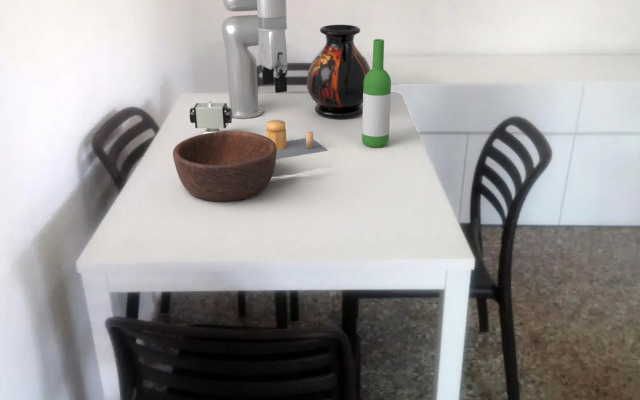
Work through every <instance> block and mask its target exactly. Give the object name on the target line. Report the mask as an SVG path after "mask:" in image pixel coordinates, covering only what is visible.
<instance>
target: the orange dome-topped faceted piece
mask: <svg viewBox="0 0 640 400" xmlns="http://www.w3.org/2000/svg"><path fill="white" fill-rule="evenodd" d="M265 133H266V135H265V137H267V138H269V139H271V140H272V141H273V142H274V143H275V144H276V147H277V150H280V149H284V148H285V147H286V141H287V129H286V121H284V120H279V119H272V120H269V121H267V122H266V130H265Z"/></svg>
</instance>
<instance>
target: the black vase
mask: <svg viewBox="0 0 640 400" xmlns="http://www.w3.org/2000/svg"><path fill="white" fill-rule="evenodd" d="M319 32H320V33H321V34H323V35H325V40H326V43H325V45H324V47H323V48H322V49H321V50H320V51H319V53H318V54H317V55H316V56H315V57H314V59H313V60H312V62H311V64H310V66H309V68H308V73H307V76H306V86H307V87H306V90H307V92H308V94H309V96H310V98H311V99H312V100H313V102H314V103H316V104H315V107H314V111H315V113H316V114H317V115H318V116H321V117H324V118H326V119H327V118H328V119H335V120H338V119H339V120H345V119H346V120H347V119H353V118H356V117H358V116H360V115H363V88H364V78H365V76H366V74H367V73H368V72H369V71H370V70H371V67H370V65H369V62H368V61H367V59H366V57H364V55H363V54H362V52H360V50H359V49H358V48H357V47H356V45H355V43H354V42H355V41H354V38H355V35H358V34H360V33H361V29H360V27H359V26H356V25H351V24H328V25H324V26H321V27H320V29H319Z"/></svg>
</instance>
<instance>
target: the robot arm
mask: <svg viewBox="0 0 640 400" xmlns="http://www.w3.org/2000/svg"><path fill="white" fill-rule="evenodd" d="M222 2H223V6H224V7H225V9H226V10H227V11H230V12H253V11H254V12H255V11H256V12H257V14H246V15H234V16H233V15H232V16H229V17H227V18H225V19H224V20H223V21H222V23H221V33H222V34H221V35H222V38H223V43H224V48H225V57H226V67H227V70H226V71H227V83H228V84H227V85H228V99H229V103H228V104H229V106H228V108H231V109H232V118H234V119H235V118H236V119H250V118H256V117H259V116H261V115H263V113H264V108H263V107H262V106H260V105H259V96H258V95H259V92H258V67H257V59H256V57H255V55H254V54H253V52H251V50H249V47H256V46H258V47H257V48H258V49H257V50H258V63H259V64H260V65H261V78H262V84H263V85H271V84H272V85H273V84H274V92H275V93H276V94H279V93H287V92H288V84H287V83H288V81H287V80H288V79H287V78H288V65H289V64H288V51H287V39H286V38H287V37H286V32H285V31H286V30H287V29H288V25H287V23H288V21H287V0H222ZM274 74H275V75H274Z"/></svg>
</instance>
